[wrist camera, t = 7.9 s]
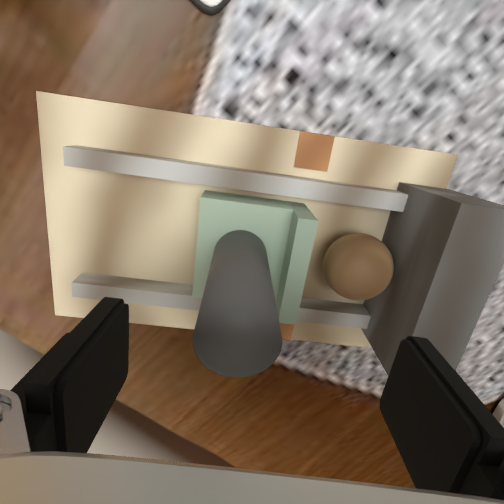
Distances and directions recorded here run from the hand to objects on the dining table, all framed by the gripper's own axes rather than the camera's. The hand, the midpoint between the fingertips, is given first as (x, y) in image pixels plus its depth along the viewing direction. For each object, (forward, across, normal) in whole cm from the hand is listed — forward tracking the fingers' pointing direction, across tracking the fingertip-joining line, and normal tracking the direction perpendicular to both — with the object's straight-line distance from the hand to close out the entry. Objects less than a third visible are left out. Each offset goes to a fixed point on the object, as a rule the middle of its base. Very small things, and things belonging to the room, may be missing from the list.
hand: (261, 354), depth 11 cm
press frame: (+12, +1, 0) cm, 12 cm away
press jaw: (+10, +1, 0) cm, 10 cm away
